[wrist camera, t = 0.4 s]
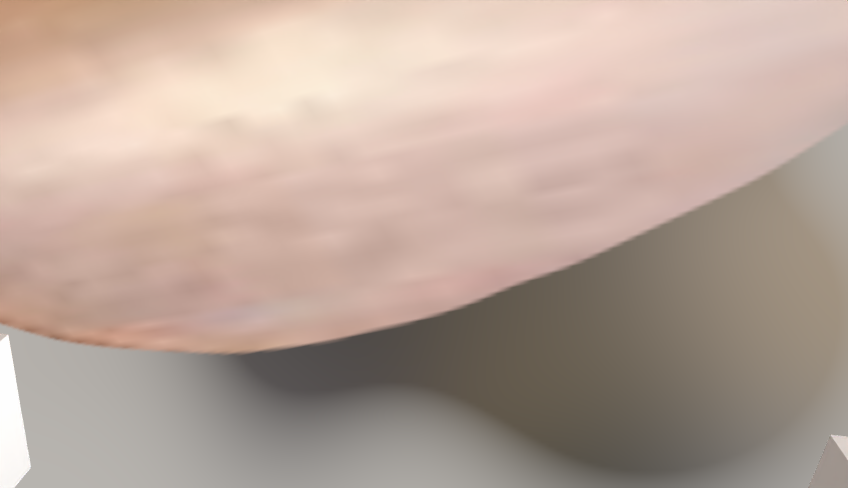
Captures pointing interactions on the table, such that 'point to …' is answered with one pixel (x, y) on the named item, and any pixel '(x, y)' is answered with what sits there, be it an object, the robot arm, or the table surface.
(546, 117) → the table surface
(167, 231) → the table surface
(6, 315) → the table surface
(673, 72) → the table surface
